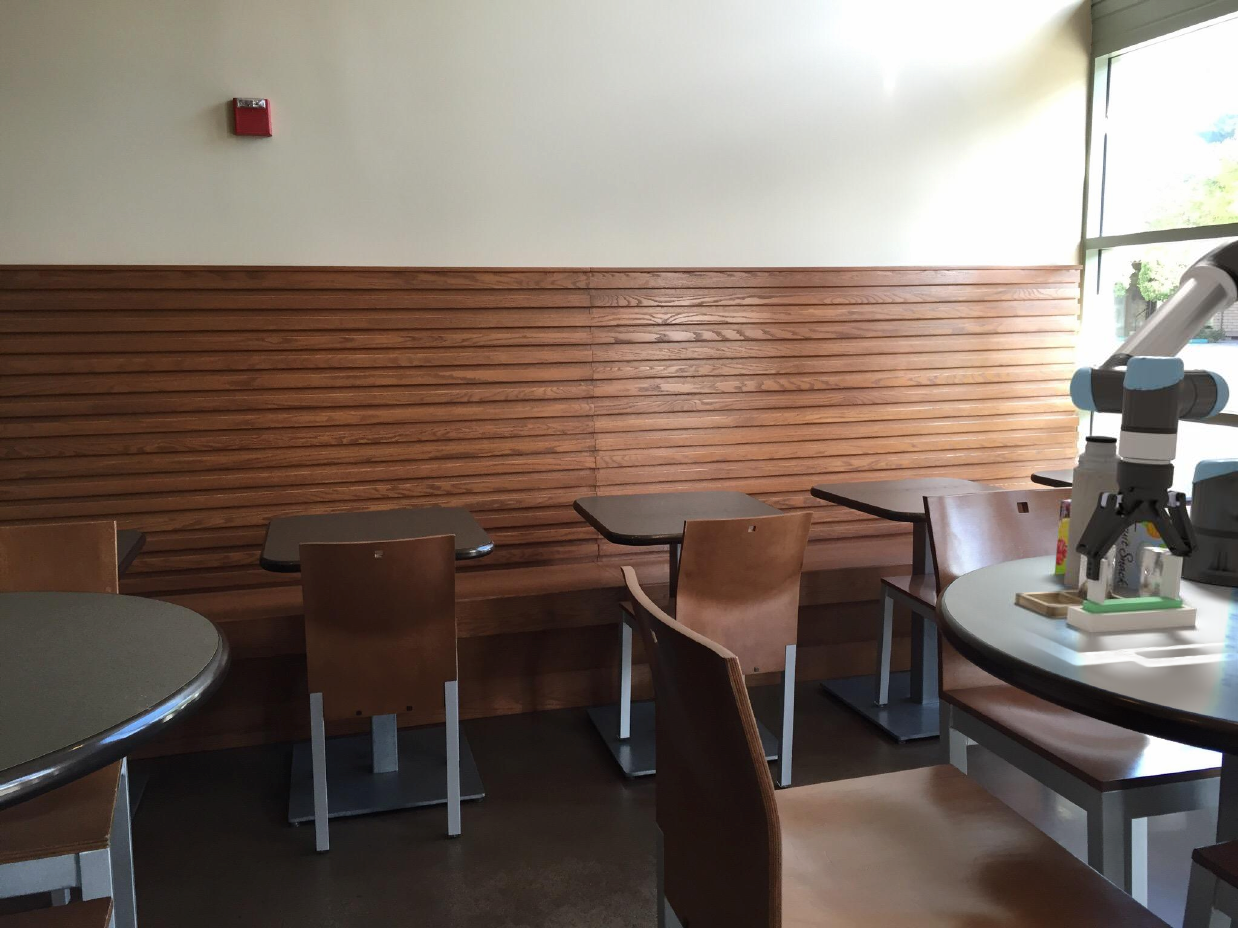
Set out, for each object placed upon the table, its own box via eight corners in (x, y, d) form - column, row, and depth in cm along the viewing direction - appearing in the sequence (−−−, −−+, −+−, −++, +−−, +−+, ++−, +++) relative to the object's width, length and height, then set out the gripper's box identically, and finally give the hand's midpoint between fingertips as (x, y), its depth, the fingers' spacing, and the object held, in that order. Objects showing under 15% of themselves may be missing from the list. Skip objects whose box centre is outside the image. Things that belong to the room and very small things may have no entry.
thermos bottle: (1106, 590, 174) (1119, 435, 170) (1119, 602, 166) (1134, 439, 162) (1058, 587, 175) (1071, 433, 172) (1069, 598, 167) (1083, 437, 164)
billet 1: (1095, 600, 161) (1100, 541, 159) (1118, 608, 156) (1123, 547, 154) (1070, 602, 159) (1075, 542, 158) (1092, 610, 154) (1097, 548, 153)
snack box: (1180, 601, 168) (1188, 515, 166) (1160, 604, 165) (1169, 517, 163) (1071, 574, 186) (1077, 496, 184) (1052, 577, 183) (1058, 498, 181)
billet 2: (1154, 605, 160) (1159, 546, 159) (1178, 613, 155) (1184, 552, 154) (1129, 607, 159) (1134, 547, 158) (1153, 615, 154) (1159, 554, 153)
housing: (1167, 625, 152) (1170, 600, 152) (1194, 634, 148) (1196, 609, 147) (1065, 631, 148) (1068, 606, 147) (1089, 641, 143) (1091, 615, 142)
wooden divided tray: (1092, 604, 164) (1094, 587, 163) (1138, 621, 154) (1140, 603, 154) (1011, 609, 159) (1012, 591, 159) (1053, 627, 150) (1054, 608, 149)
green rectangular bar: (1167, 620, 151) (1169, 595, 150) (1179, 625, 148) (1182, 599, 148) (1080, 626, 147) (1083, 600, 146) (1092, 631, 144) (1094, 605, 144)
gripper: (1192, 456, 151) (1179, 589, 154) (1057, 458, 145) (1046, 596, 147) (1234, 462, 144) (1220, 601, 147) (1094, 464, 137) (1081, 609, 140)
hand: (1133, 599), depth 147 cm, fingers open, 13 cm apart
